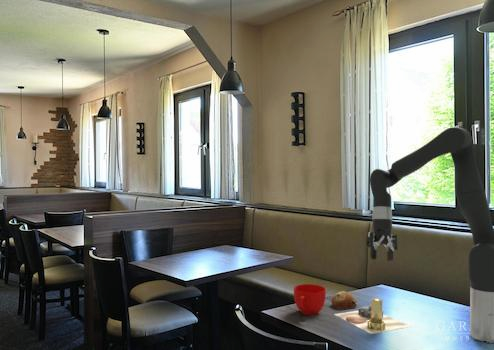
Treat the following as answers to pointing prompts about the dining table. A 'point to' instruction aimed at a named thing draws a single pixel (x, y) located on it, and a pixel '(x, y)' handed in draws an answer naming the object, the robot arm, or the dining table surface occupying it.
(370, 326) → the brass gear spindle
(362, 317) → the gear board
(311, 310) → the ceramic cup
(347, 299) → the bread roll
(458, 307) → the dining table surface
